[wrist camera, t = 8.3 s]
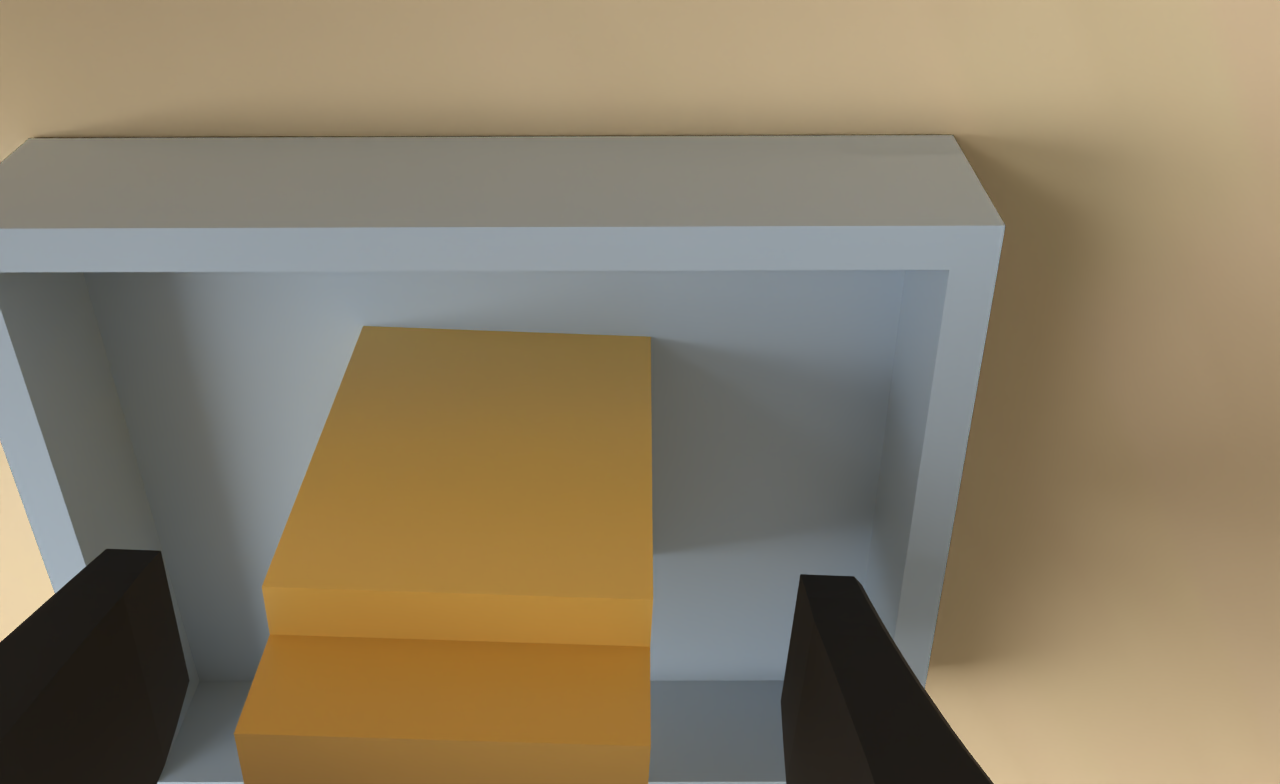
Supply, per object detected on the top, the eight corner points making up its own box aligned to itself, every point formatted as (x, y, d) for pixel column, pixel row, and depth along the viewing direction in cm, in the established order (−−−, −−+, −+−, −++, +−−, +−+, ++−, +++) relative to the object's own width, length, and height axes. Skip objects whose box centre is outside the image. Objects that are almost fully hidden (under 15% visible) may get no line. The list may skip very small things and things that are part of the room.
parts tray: (186, 675, 19) (131, 805, 17) (29, 138, 14) (-75, 229, 12) (876, 674, 19) (904, 805, 17) (953, 135, 14) (1005, 225, 12)
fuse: (384, 547, 17) (275, 939, 12) (363, 326, 15) (224, 684, 10) (639, 555, 17) (637, 949, 12) (651, 337, 15) (654, 698, 10)
